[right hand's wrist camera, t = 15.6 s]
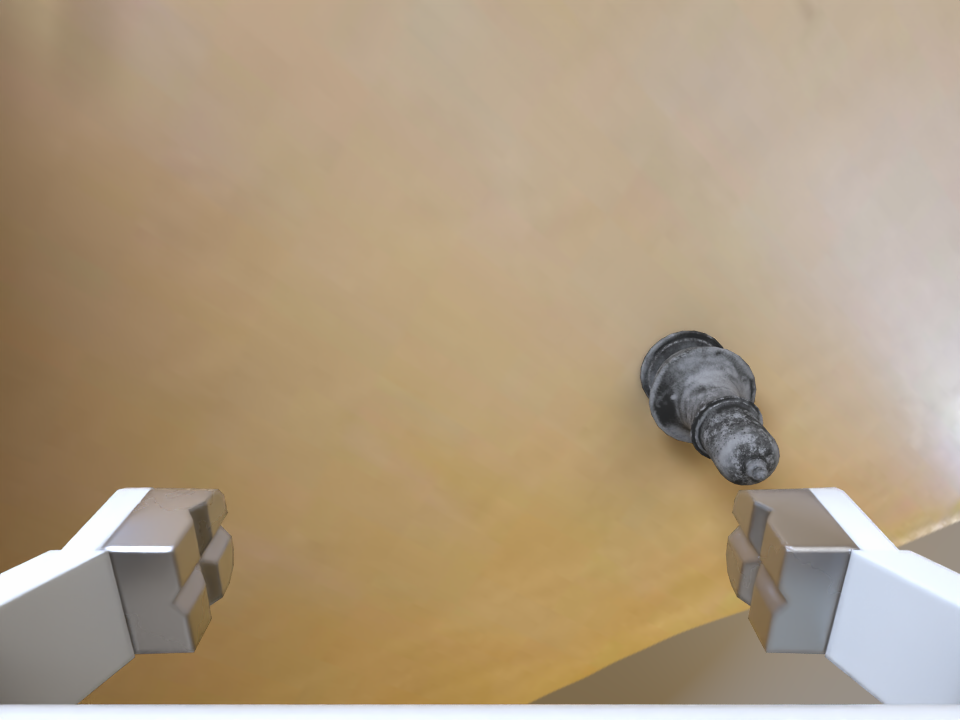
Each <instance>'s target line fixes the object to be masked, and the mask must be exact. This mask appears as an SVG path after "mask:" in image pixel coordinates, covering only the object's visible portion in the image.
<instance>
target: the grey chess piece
mask: <svg viewBox="0 0 960 720" xmlns="http://www.w3.org/2000/svg"><path fill="white" fill-rule="evenodd" d="M640 378H641V383H642V388H643V390H644V391H645V393H646V395H647V397H648V398H649V405H650V410H651V415H652V417H653V418H654V420H655V422H656V424H657V425H658V427H659V428H660V429H661V430H663V431H664V432H665V433H666V434H667V435H669V436H671V437H673V438H675V439H676V440H679V441H684V442H688V443H693V445H694V447H695V449H696V450H697V451H698V452H699V453H700V454H701V455H703V456H705V457H707V458H709V459H712V461H713V462H714V464H715V466H716V467H717V469H718V470H719V472H720V473H721V474H722V475H723V476H724V477H725V478H726V479H727V480H728V481H730V482H732V483H734V484H738V485H753V484H757V483H759V482H761V481H763V480H765V479H766V478H768V477H769V476H770V475H771V474H772V473H773V471H774V470H775V469H776V466H777V464H778V462H779V457H780V454H779V448H778V445H777V443H776V441H775V439H774V438H773V437H772V436H771V435H770V433H769V432H768V431H767V430H766V429H765V428H764V427H763V419H762V415H761V413H760V411H759V408H758V407H757V406H756V405H755V404H754V401H755V394H756V384H755V378H754V375H753V373H752V371H751V369H750V367H749V365H748V364H747V363H746V362H745V361H744V360H743V359H742V358H741V357H740V356H738V355H737V354H735V353H733V352H731V351H729V350H727V349H723V347H722V346H721V345H720V344H719V343H718V342H717V341H716V340H715V339H714V338H713V337H711V336H709V335H707V334H705V333H701V332H697V331H681V332H677V333H673V334H670V335H668V336H666V337H665V338H663V339H661V340H660V341H658V342H657V343H656V344H655V345H654V346H653V347H652V348H651V349H650V350H649V352H648V353H647V355H646V356H645V358H644V361H643V364H642V367H641V376H640Z"/></svg>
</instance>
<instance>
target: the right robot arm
mask: <svg viewBox="0 0 960 720" xmlns="http://www.w3.org/2000/svg"><path fill="white" fill-rule="evenodd" d="M227 513H228V512H227V507H226V502H225V497H224V494H223V493H222V492H221V491H220V490H219V489H188V488H156V489H155V488H123V489H119V490H117V491H116V492H115V493H114V494H113V495H112V496H111V497H110V498H109V499H108V501H107V502H106V503H105V504H104V505H103V506H102V507H101V508H100V509H99V510H98V511H97V512H96V513H95V514H94V515H93V517H92V518H91V519H90V520H89V521H88V522H87V523H86V524H85V525H84V526H83V527H82V528H81V529H80V530H79V531H78V533H77V534H76V535H75V536H74V537H73V538H72V539H71V540H70V541H69V542H68V543H67V544H66V545H65V546H64V547H63V549H62V550H50V551H48V552H46V553H43V554H41V555H39V556H37V557H35V558H33V559H31V560H28V561H26V562H24V563H22V564H20V565H18V566H16V567H14V568H11V569H9V570H7V571H5V572H3V573H1V574H0V720H960V574H959V573H957V572H955V571H953V570H950V569H948V568H946V567H944V566H942V565H940V564H938V563H936V562H934V561H931V560H929V559H927V558H925V557H923V556H921V555H919V554H917V553H914V552H912V551H910V550H898V549H897V547H896V546H895V545H894V544H893V543H892V542H891V541H890V540H889V539H888V538H887V537H886V536H885V535H884V534H883V532H882V531H881V530H880V529H879V528H878V527H877V526H876V525H875V524H874V523H873V522H872V521H871V520H870V519H869V518H868V516H867V515H866V514H865V513H864V512H863V511H862V510H861V509H860V508H859V507H858V506H857V505H856V504H855V503H854V502H853V500H852V499H851V498H850V497H849V496H848V495H847V494H846V493H845V492H844V491H843V490H841V489H838V488H836V487H828V488H803V489H768V490H739V491H738V493H737V496H736V498H735V501H734V506H733V512H732V513H733V515H734V516H735V518H736V520H737V521H738V523H739V526H738V527H737V528H736V529H735V530H734V531H733V532H732V533H731V534H730V535H729V536H728V543H727V551H726V561H727V572H728V576H729V579H730V582H731V585H732V588H733V590H734V592H735V594H736V596H737V597H738V598H739V599H741V600H742V601H744V602H745V603H747V604H748V605H750V611H749V617H748V619H749V621H750V623H751V625H752V627H753V629H754V630H755V632H756V634H757V636H758V638H759V640H760V642H761V644H762V646H763V648H764V649H765V651H766V652H768V653H804V654H825V657H826V658H827V659H828V660H830V661H831V662H832V663H833V664H835V665H836V666H837V667H838V668H839V669H841V670H842V671H843V672H844V673H846V674H847V675H848V676H849V677H850V678H852V679H853V680H854V681H855V682H857V683H858V684H859V685H860V686H862V687H863V688H864V689H865V690H867V691H868V692H869V693H870V694H871V695H873V696H874V697H875V698H876V699H878V700H879V701H880V702H881V703H883V704H78V703H79V702H80V701H81V700H83V699H84V698H85V697H86V696H88V695H89V694H90V693H91V692H92V691H94V690H95V689H96V688H97V687H99V686H100V685H101V684H102V683H104V682H105V681H106V680H107V679H109V678H110V677H111V676H112V675H113V674H115V673H116V672H117V671H118V670H120V669H121V668H122V667H123V666H125V665H126V664H127V663H128V662H130V661H131V660H132V659H133V658H134V657H135V654H155V653H190V652H194V651H195V650H196V648H197V646H198V644H199V642H200V640H201V638H202V636H203V634H204V632H205V630H206V629H207V627H208V625H209V623H210V621H211V619H212V617H211V611H210V605H212V604H213V603H215V602H216V601H218V600H219V599H221V598H222V597H223V596H224V594H225V592H226V589H227V587H228V585H229V583H230V579H231V574H232V570H233V565H234V548H233V542H232V536H231V535H230V534H229V533H228V532H227V531H226V530H225V529H224V528H223V527H222V526H221V523H222V521H223V520H224V518H225V516H226V515H227Z"/></svg>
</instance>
